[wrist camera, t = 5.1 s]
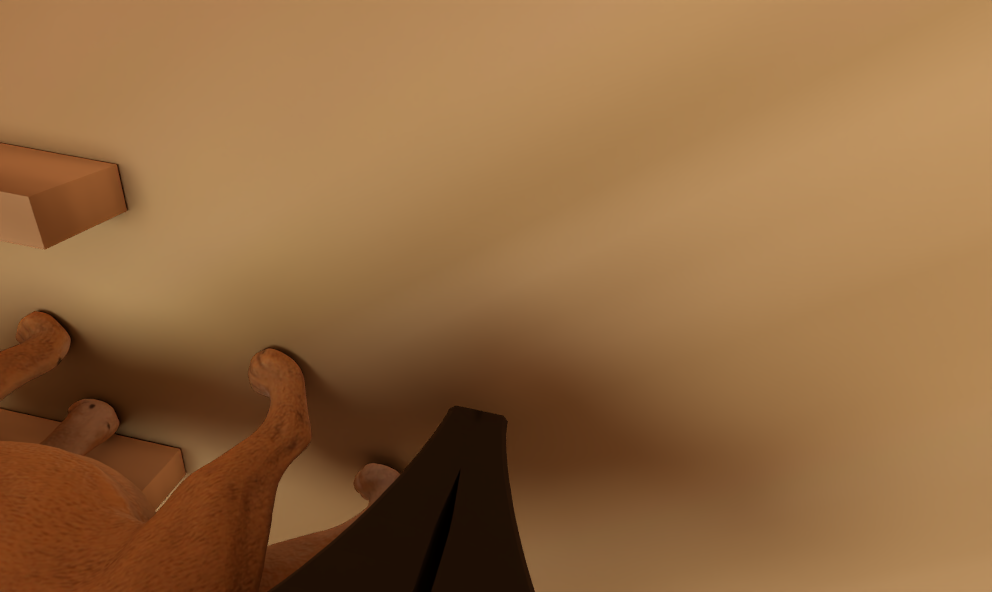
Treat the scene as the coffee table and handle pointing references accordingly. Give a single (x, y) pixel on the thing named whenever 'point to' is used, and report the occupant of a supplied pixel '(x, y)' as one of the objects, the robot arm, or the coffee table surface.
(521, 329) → the coffee table surface
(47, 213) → the wooden frame
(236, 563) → the lion figurine
